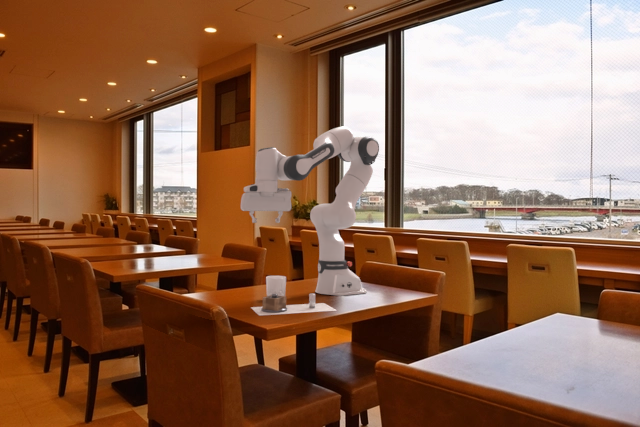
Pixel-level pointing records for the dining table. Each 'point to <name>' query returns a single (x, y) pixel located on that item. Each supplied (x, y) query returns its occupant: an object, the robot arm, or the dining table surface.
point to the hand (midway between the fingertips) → (266, 222)
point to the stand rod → (311, 300)
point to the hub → (274, 310)
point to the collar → (274, 303)
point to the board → (298, 309)
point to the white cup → (276, 285)
